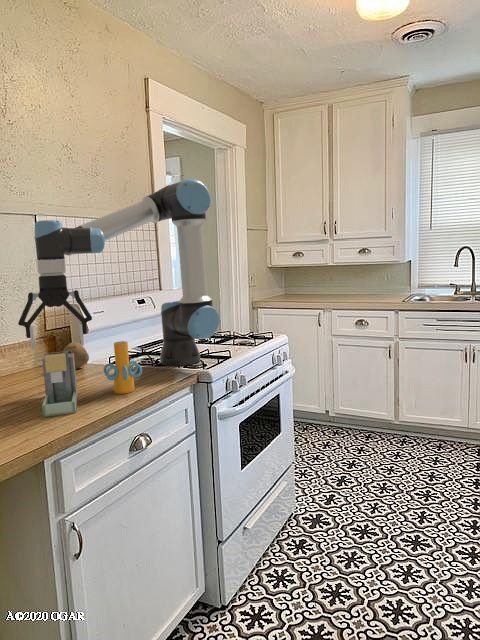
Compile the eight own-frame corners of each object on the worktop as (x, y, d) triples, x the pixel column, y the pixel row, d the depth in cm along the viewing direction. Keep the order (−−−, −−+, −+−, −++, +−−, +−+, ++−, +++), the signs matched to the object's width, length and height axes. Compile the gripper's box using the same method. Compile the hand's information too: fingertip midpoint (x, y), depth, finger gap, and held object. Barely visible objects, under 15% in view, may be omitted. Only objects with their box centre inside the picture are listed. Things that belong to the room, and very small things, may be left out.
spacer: (67, 367, 134) (65, 353, 134) (66, 370, 130) (64, 355, 130) (47, 369, 133) (46, 354, 132) (46, 372, 129) (44, 357, 129)
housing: (77, 396, 145) (73, 346, 143) (76, 404, 137) (71, 351, 135) (48, 399, 143) (43, 349, 141) (45, 408, 134) (40, 354, 132)
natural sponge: (59, 369, 184) (56, 342, 183) (82, 364, 190) (79, 339, 189) (69, 372, 178) (66, 345, 176) (92, 367, 183) (90, 341, 182)
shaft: (73, 369, 152) (71, 350, 151) (69, 387, 131) (67, 364, 130) (52, 371, 150) (50, 352, 149) (45, 389, 129) (43, 367, 128)
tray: (77, 401, 140) (76, 391, 139) (75, 412, 129) (74, 401, 129) (47, 405, 137) (45, 395, 137) (43, 417, 127) (41, 405, 127)
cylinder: (103, 389, 152) (99, 341, 150) (137, 384, 156) (133, 337, 154) (109, 399, 141) (105, 347, 139) (146, 393, 145) (142, 343, 143)
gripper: (96, 272, 150) (101, 341, 152) (7, 276, 143) (14, 348, 146) (96, 273, 143) (102, 345, 145) (2, 277, 136) (10, 352, 138)
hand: (58, 347), depth 145 cm, fingers open, 13 cm apart
